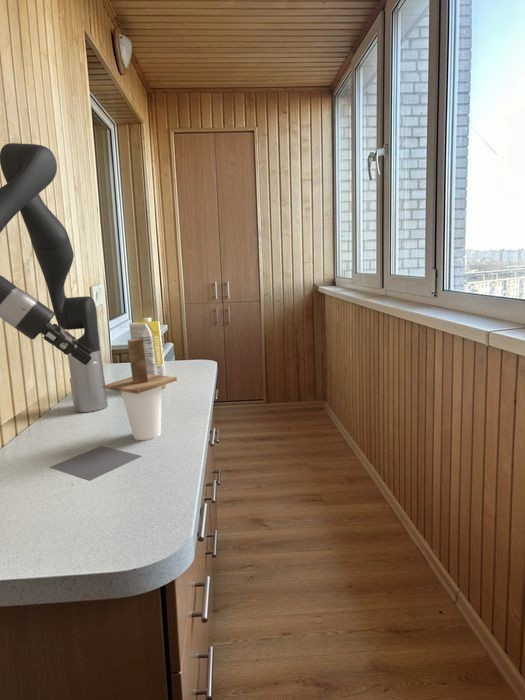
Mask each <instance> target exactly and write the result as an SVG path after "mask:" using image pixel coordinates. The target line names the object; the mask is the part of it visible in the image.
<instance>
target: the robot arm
mask: <svg viewBox="0 0 525 700" xmlns="http://www.w3.org/2000/svg"><path fill="white" fill-rule="evenodd" d="M0 169H1V172H2V174H3V177H4V179H5V182H6V184H4V185H3V186H1V187H0V234H1V232H2V231H3V230H4V229H5V227H6V226H7V225H8V224H9V222H11V220H12V219H13V218H14V217H15V216H16V215H17V214H18V213H19V212H20V214H21V215H20V216H21V218H22V220H23V222H24V225H25V227H26V230H27V232H28V236H29V238H30V239H29V240H30V243H31V246H32V248H33V252H34V254H35V256H36V259H37V262H38V264H39V267H40V269H41V272H42V275H43V278H44V280H45V284H46V287H47V290H48V291H47V292H48V295H49V298H50V301H51V305H52V306H51V307H52V309H50V308H49V307H48V306H47V305H45V304H43V303H42V302H40V301H39V300H38V299H37V298H35V297H33V295H31V294H30V293H28V292H27V291H25V290H23V289H21V288H20V287H18V286H17V285H15V284H14V283H12V282H11V281H10V280H9V279H7V278H5V276H2V275H1V274H0V319H2V320H3V321H4V322H5V323H7V324H8V325H10V326H11V327H12V328H14V329H15V330H17V331H18V332H20V333H21V334H22V335H24V336H26V337H27V338H28V339H30V340H35V339H36V338H37V337H38V335H40V334H42V335H43V336H42V337H43V340H44V341H46V342H47V343H49V344H51V345H52V346H54V347H55V348H56V349H57V350H59V351H61V352H62V353H63V355H67V360H68V368H69V373H70V378H69V383H70V389H71V396H72V403H73V408H74V409H75V411H76V412H78V413H90V412H97V411H99V410H102V409H105V408H106V407H108V406H109V404H108V403H109V402H108V395H107V389H104V388H103V385H106V382H105V381H106V380H105V375H104V374H105V373H104V367H103V360H102V354H101V346H100V345H101V344H100V335H99V333H100V332H99V327H98V326H99V325H98V312H97V305H96V302H95V301H94V298H93V297H91V296H75V297H67V296H66V294H65V283H66V280H67V278H68V275H69V272H70V270H71V268H72V265H73V262H74V257H75V255H74V250H73V247H72V243H71V239H70V235H69V233H68V231H67V229H66V227H64V225H63V223H62V222H61V221H60V220H59V219H58V217H57V216H56V215H55V214H54V213H53V212H52V211H51V210H50V209H49V207H48V206H47V205H46V204H45V202H44V201H43V198H41V195H40V193H41V192H43V191H44V190H45V189H46V188H48V187H49V185H50V184H51V183H52V182H53V181H54V180H55V178H56V176H57V169H58V163H57V159H56V157H55V155H54V153H53V151H51V149H49V148H48V147H47V146H45V145H41V144H37V143H36V144H35V143H34V144H33V143H20V142H19V143H18V142H17V143H16V142H14V143H13V142H12V143H6V144H4V145H3V146H2V147H1V149H0ZM54 317H55V320H56V322H57V323H53V324H52V323H51V322H50V321H52V319H53V318H54ZM82 329H84V330H83V331H84V332H83V334H82V335H81V336H80V337H79V338H76V337H75V335H74V336H73V335H72V334H71V333H70V332H69V331H68V330H82Z"/></svg>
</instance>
